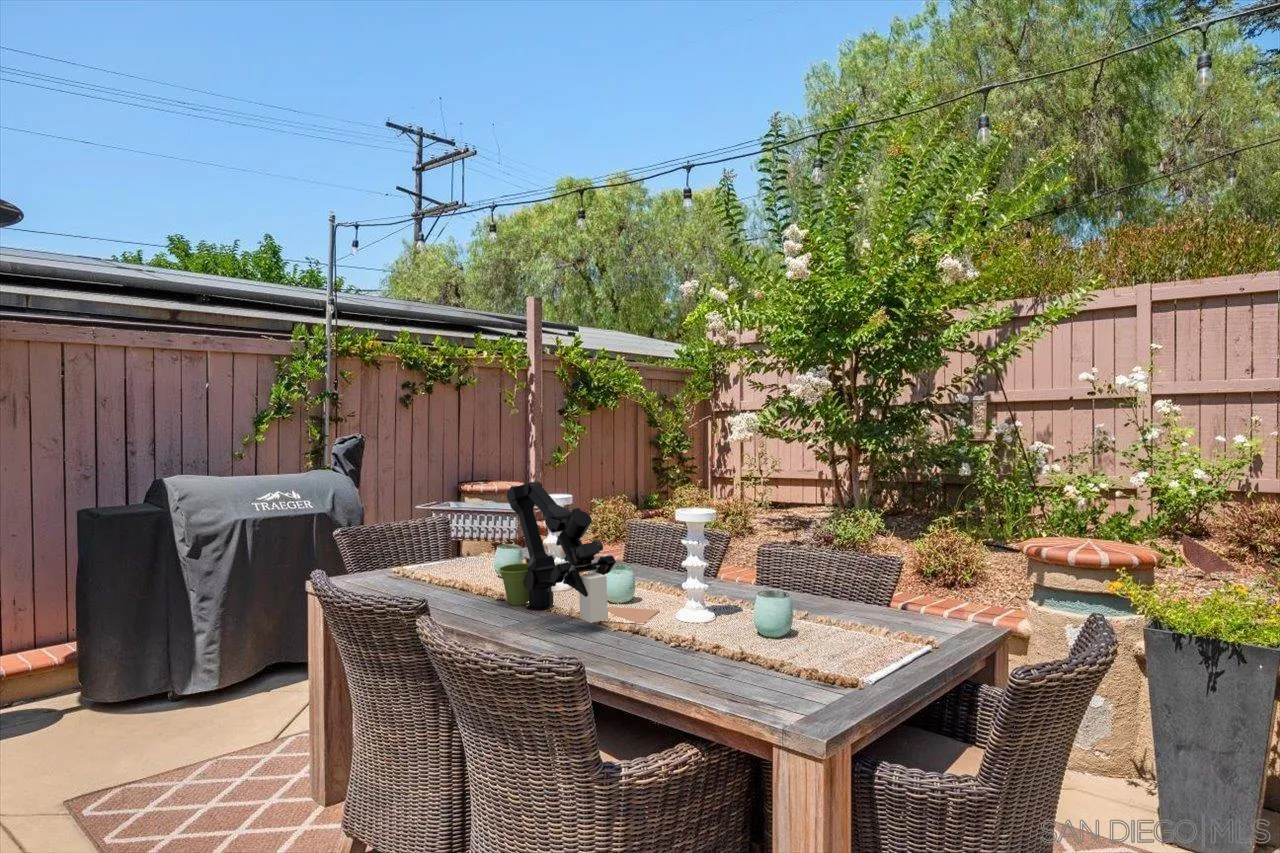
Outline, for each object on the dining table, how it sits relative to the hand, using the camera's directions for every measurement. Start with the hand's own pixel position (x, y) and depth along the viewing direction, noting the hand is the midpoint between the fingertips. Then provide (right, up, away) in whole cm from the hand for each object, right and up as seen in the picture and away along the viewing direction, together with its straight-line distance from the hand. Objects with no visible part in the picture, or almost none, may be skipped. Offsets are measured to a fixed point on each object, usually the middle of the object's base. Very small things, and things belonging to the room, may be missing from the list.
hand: (595, 594), depth 216 cm
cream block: (-1, -7, +1) cm, 7 cm away
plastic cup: (-21, -9, +48) cm, 53 cm away
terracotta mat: (+8, -9, +13) cm, 18 cm away
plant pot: (-26, -10, +32) cm, 42 cm away
